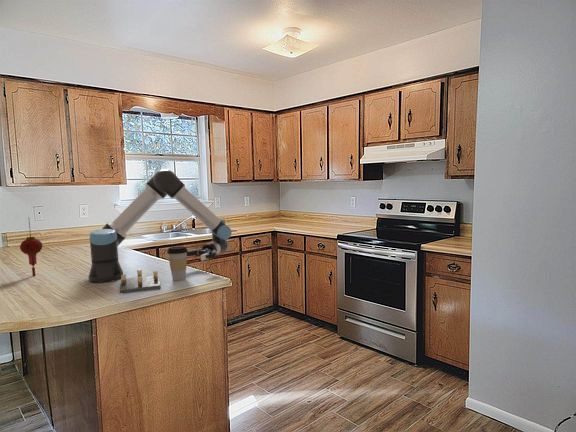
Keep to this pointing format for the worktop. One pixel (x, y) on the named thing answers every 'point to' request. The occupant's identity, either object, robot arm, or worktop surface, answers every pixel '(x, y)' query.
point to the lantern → (31, 249)
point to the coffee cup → (178, 262)
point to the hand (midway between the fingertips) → (189, 257)
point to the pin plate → (137, 288)
